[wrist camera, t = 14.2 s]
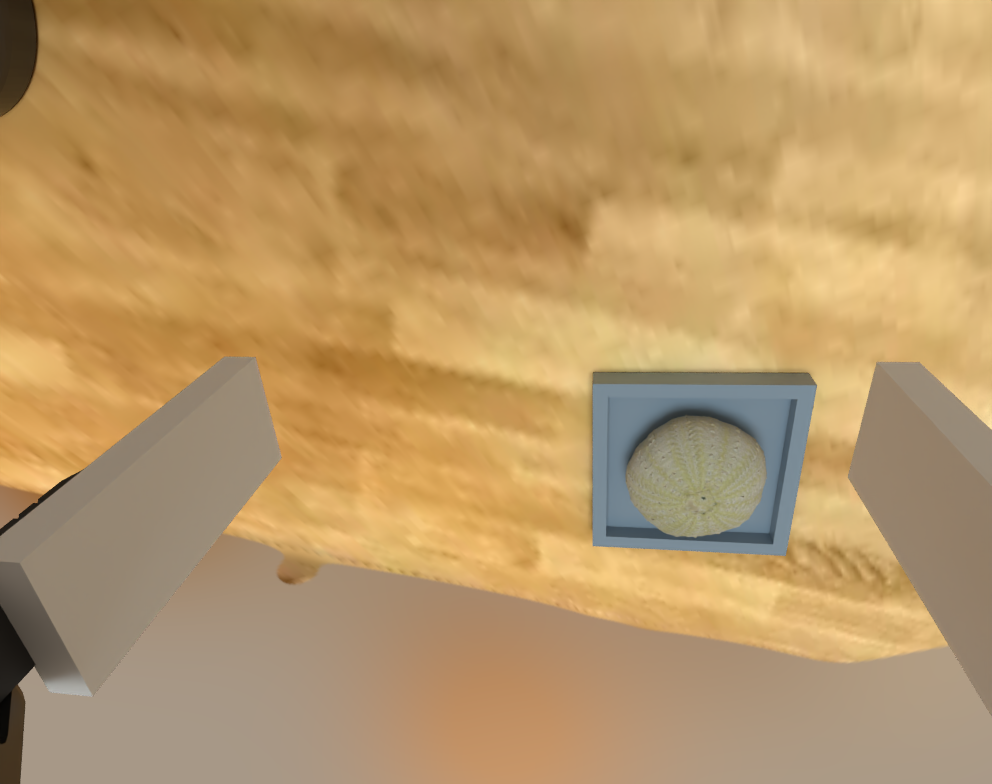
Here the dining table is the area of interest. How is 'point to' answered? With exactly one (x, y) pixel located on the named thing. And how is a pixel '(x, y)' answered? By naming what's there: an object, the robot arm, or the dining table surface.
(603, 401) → the tray
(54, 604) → the robot arm
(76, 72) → the dining table surface
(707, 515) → the sea urchin shell
